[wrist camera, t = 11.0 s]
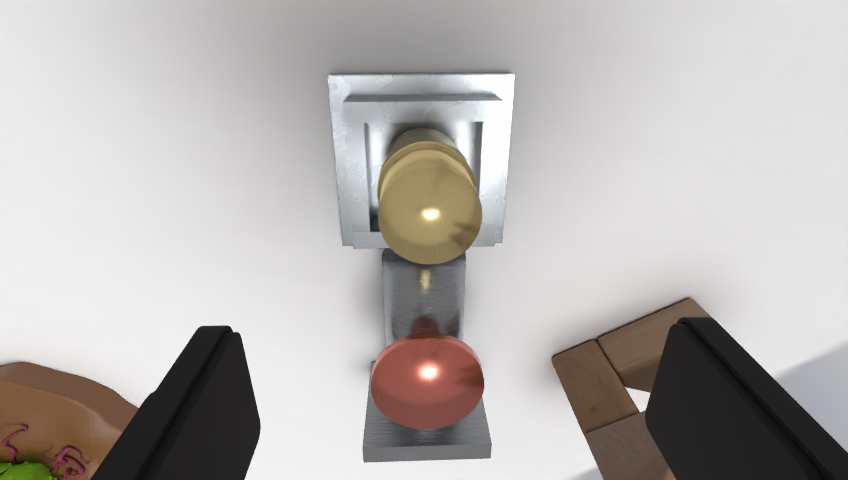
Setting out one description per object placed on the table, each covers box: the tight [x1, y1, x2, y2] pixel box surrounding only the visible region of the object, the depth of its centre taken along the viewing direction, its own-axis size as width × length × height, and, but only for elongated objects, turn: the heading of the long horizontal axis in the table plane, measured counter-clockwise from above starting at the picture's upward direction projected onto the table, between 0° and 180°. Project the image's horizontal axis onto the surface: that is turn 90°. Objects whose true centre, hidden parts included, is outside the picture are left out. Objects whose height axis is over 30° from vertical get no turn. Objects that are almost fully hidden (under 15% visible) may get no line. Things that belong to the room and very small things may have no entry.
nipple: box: [377, 128, 482, 264], centre depth 23 cm, size 5×5×8 cm
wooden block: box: [552, 299, 712, 480], centre depth 26 cm, size 4×11×18 cm, turn 118°
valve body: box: [328, 73, 515, 462], centre depth 26 cm, size 21×10×8 cm, turn 0°
